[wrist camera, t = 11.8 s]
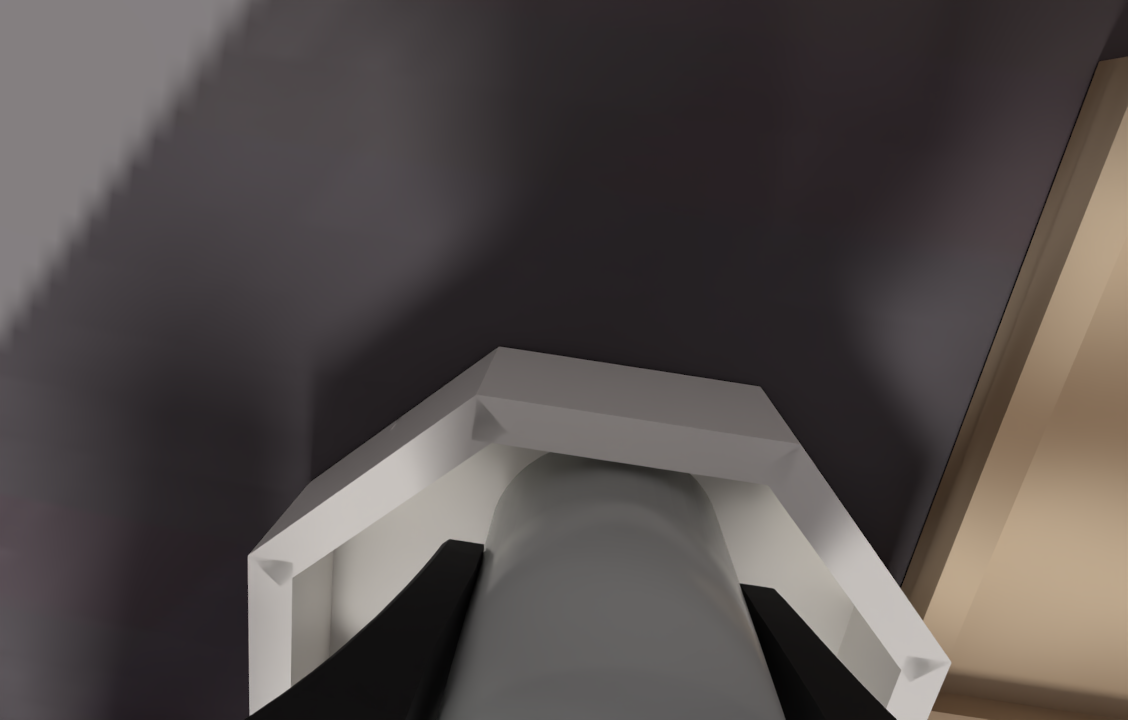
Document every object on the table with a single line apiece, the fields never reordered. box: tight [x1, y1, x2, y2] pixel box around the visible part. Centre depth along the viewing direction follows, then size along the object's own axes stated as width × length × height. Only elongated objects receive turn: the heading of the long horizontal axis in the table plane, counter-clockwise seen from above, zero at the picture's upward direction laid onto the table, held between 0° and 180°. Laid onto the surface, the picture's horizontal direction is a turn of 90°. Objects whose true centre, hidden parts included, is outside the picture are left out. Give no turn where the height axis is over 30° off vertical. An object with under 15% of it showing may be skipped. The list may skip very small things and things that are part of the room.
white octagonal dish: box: [248, 346, 951, 720], centre depth 13 cm, size 13×13×3 cm
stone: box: [436, 452, 786, 720], centre depth 10 cm, size 4×4×5 cm
